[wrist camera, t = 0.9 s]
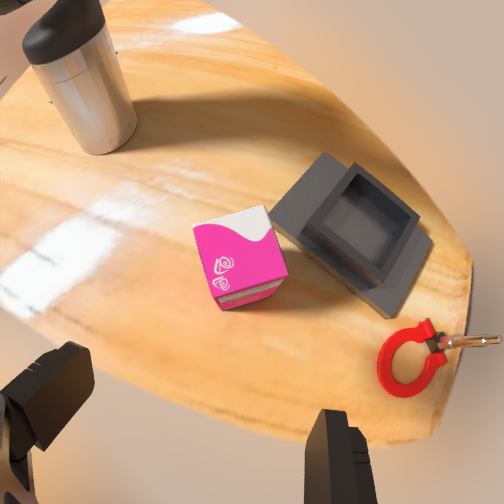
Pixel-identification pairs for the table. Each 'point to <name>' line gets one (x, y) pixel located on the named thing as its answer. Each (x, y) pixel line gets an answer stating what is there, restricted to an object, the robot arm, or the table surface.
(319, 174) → the socket plate
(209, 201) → the table surface
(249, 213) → the supplement box
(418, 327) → the tow hook
